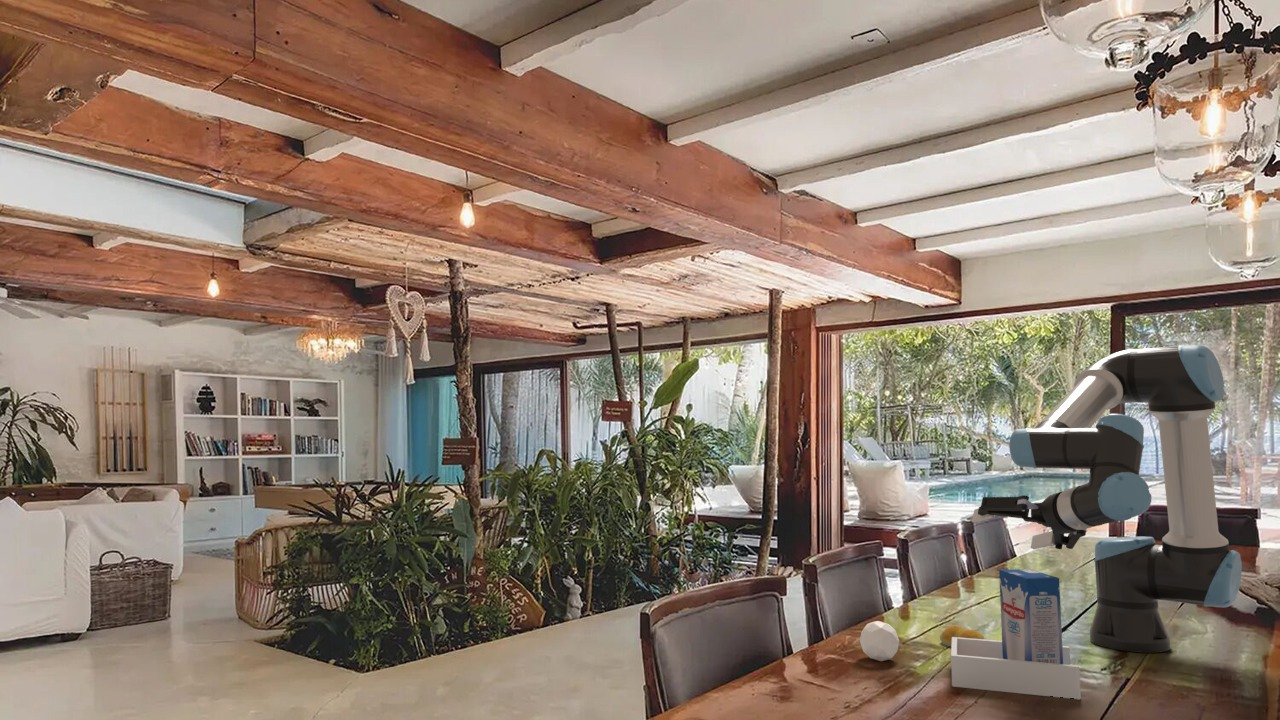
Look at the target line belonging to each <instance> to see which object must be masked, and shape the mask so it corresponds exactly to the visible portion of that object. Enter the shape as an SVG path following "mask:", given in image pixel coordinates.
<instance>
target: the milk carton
mask: <svg viewBox="0 0 1280 720" xmlns="http://www.w3.org/2000/svg"><path fill="white" fill-rule="evenodd" d="M998 573H999V574H998V575H999V576H998V577H999V595H1000V596H999V597H1000V598H999V600H1000V602H999V603H1000V621H1001V623H1000V624H1001V641H1002V652H1003V659H1010V660H1021V661H1032V662H1043V663H1054V664H1063V649H1062V646H1063V632H1062V630H1063V629H1062V613H1061V610H1062V609H1061V591H1060V590H1061V589H1060V577H1057V576H1054V575H1050V574H1048V573H1044V572H1040V571H1037V570H1034V569H1031V568H1027V569H1025V568H1023V569H1022V568H1021V569H1020V568H1019V569H1016V568H1015V569H999V570H998Z"/></svg>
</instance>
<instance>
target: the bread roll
mask: <svg viewBox="0 0 1280 720" xmlns="http://www.w3.org/2000/svg"><path fill="white" fill-rule="evenodd" d="M952 637H960V638H972V639H984V640H986V638H985V637H984V635H983V634H982V633H981V632H980V631H977V630H973V629H965V628H964V627H961V626H959V625H951V626H948V627H946V628H945V629H944V630H943V631H942V632H941V633H940V634H939V639H940V642H941V643H942V644H943V645H945V646H948V647H951V645H952Z"/></svg>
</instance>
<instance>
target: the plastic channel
mask: <svg viewBox="0 0 1280 720" xmlns="http://www.w3.org/2000/svg"><path fill="white" fill-rule="evenodd" d="M984 639H985V638H984ZM984 639H972V638H960V637H952V645H951V646H950V650H951V651H950V662H951V663H950V664H951V665H950V667H951V687H954V688H955V687H956V688H966V689H974V690H983V691H984V690H985V691H994V692H1003V693H1004V692H1005V693H1013V694H1020V695H1021V694H1023V695H1033V696H1042V697H1050V696H1053V697H1052V698H1060V697H1063V698H1062V699H1070V698H1074V699H1073V700H1080V699H1081V700H1082V698H1081V697H1082V696H1081V675H1080V674H1081V673H1080V665H1078V664H1077V665H1075V664H1071V655H1070V654H1071V653H1070V650H1071V649H1070V646H1069V645H1068V646H1067V645H1062V649H1063V664H1054V663H1043V662H1032V661H1021V660H1010V659H1003V652H1002V640H995V639H985V640H984Z"/></svg>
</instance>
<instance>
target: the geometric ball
mask: <svg viewBox="0 0 1280 720" xmlns="http://www.w3.org/2000/svg"><path fill="white" fill-rule="evenodd" d="M859 643H860V646H861V648H862V651H863V653H865V655H867V656H868V657H869V659H872V660H874V661H879V662H884V661H888V660H891V659H892V658H893V657H894V656H895V655H896V654H897V652H898V651H899V646H900V640H899V636H898V633H897V631H896V629H895V628H894V627H892V626H891V624H889V623H886V622H884V621H880V620H876V621H872V622H871V621H870V622H869V623H867V624H866V625H865V626H864V628H863V629H862V631H861V633H860V637H859Z"/></svg>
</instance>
